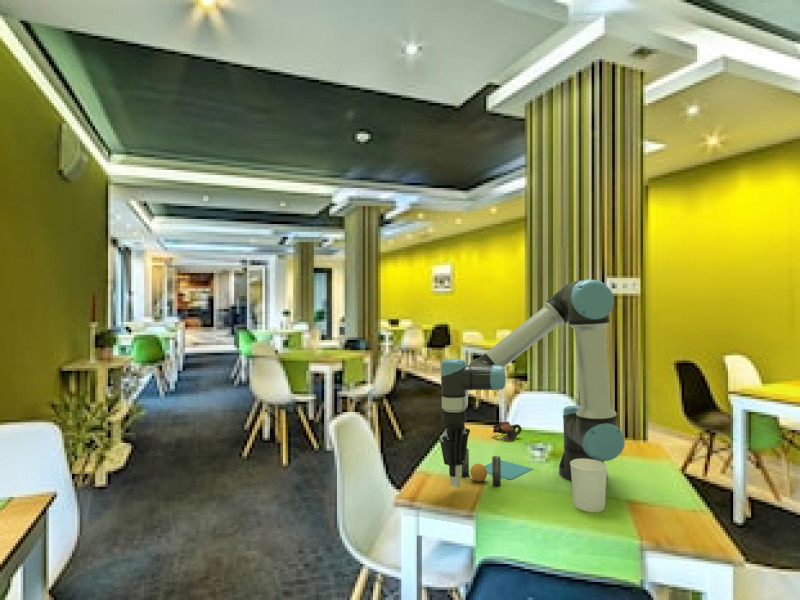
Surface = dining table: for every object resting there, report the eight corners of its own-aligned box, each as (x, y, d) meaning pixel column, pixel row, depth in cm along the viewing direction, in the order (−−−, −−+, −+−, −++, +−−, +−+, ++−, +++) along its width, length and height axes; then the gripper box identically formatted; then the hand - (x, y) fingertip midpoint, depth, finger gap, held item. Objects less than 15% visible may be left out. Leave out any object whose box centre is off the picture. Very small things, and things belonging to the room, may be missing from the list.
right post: (502, 485, 153) (502, 457, 153) (497, 487, 151) (497, 459, 151) (495, 483, 154) (495, 455, 154) (491, 485, 153) (490, 457, 153)
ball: (491, 466, 157) (482, 465, 154) (488, 483, 156) (479, 483, 153) (478, 462, 161) (468, 461, 158) (475, 478, 160) (465, 478, 157)
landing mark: (533, 469, 167) (533, 468, 167) (510, 480, 157) (510, 479, 157) (499, 460, 177) (499, 459, 177) (476, 469, 167) (476, 469, 167)
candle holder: (566, 499, 141) (565, 458, 141) (599, 499, 141) (599, 458, 141) (577, 514, 132) (576, 470, 132) (613, 513, 131) (612, 470, 131)
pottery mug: (497, 444, 199) (491, 424, 202) (496, 447, 207) (490, 429, 211) (525, 436, 198) (518, 416, 202) (523, 440, 207) (517, 421, 211)
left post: (470, 475, 162) (470, 449, 162) (465, 477, 160) (465, 450, 160) (464, 473, 163) (464, 447, 164) (459, 475, 162) (459, 449, 162)
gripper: (457, 404, 155) (459, 477, 155) (430, 411, 146) (432, 488, 146) (476, 407, 150) (477, 483, 150) (449, 415, 141) (451, 495, 141)
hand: (455, 485), depth 148 cm, fingers closed
